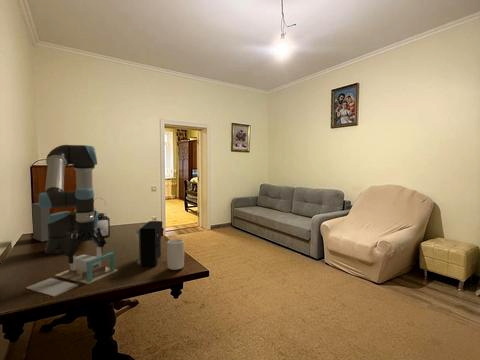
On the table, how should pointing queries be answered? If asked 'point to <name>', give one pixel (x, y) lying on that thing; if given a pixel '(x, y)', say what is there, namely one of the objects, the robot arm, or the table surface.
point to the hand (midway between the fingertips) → (86, 264)
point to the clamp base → (97, 274)
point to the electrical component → (150, 243)
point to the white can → (175, 254)
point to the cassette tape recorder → (40, 222)
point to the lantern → (103, 224)
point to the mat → (52, 287)
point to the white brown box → (85, 263)
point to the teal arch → (90, 262)
